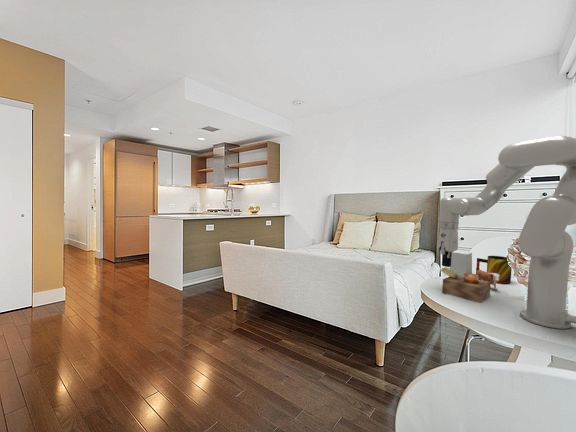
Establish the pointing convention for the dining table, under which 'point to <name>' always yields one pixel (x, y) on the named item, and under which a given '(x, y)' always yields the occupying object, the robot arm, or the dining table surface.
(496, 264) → the mug
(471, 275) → the orange-brown domed cylinder
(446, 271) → the plate
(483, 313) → the dining table surface
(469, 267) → the skincare box
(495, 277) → the bull figurine
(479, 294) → the block
